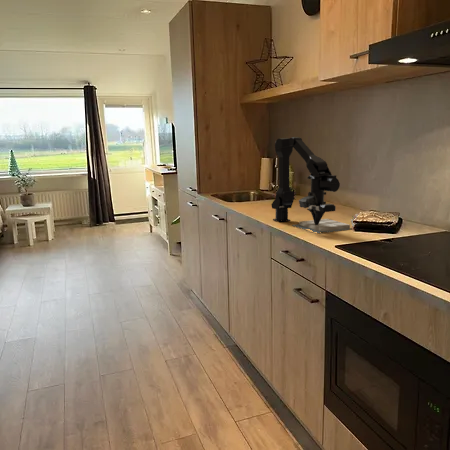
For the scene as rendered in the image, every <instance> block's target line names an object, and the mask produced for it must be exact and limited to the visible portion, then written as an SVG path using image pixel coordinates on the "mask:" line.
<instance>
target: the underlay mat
mask: <svg viewBox="0 0 450 450" xmlns="http://www.w3.org/2000/svg"><path fill="white" fill-rule="evenodd" d="M291 226H292V227H295V226H296V227H295V228H298V227H299V228H298V229H301V228H302V229H301V230H304V229H310V230H312V231H313V232H317V233H319V234H321V233H320V232H327V233H333V231H335V232H342V230H343V231H348V230H349V229H351V230H353V228H351V227H350V228H346V229H338V230H328V231H317V230H314V229H311V228H308V227H305V226H302V225H299V223H298V224H297V223H296V224H292V225H291ZM349 231H350V230H349ZM313 232H312V233H313Z"/></svg>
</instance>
